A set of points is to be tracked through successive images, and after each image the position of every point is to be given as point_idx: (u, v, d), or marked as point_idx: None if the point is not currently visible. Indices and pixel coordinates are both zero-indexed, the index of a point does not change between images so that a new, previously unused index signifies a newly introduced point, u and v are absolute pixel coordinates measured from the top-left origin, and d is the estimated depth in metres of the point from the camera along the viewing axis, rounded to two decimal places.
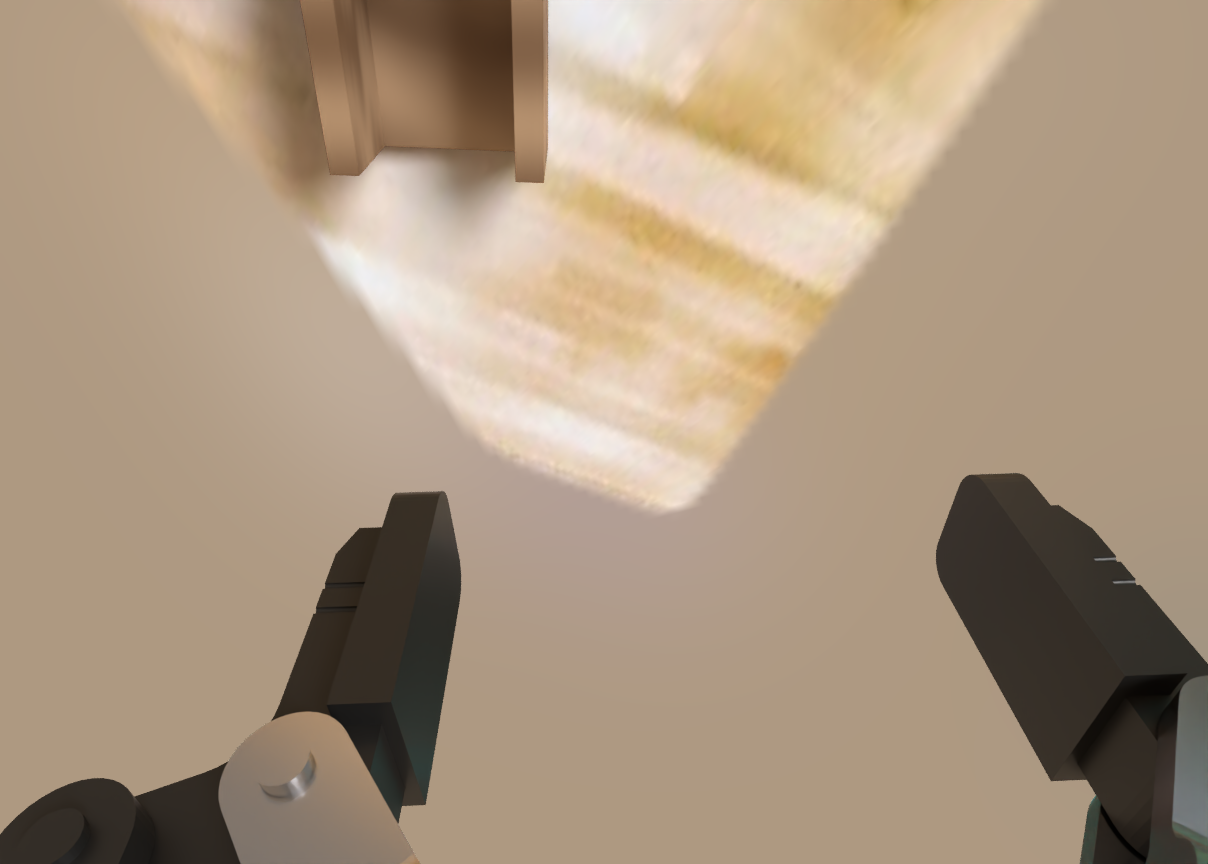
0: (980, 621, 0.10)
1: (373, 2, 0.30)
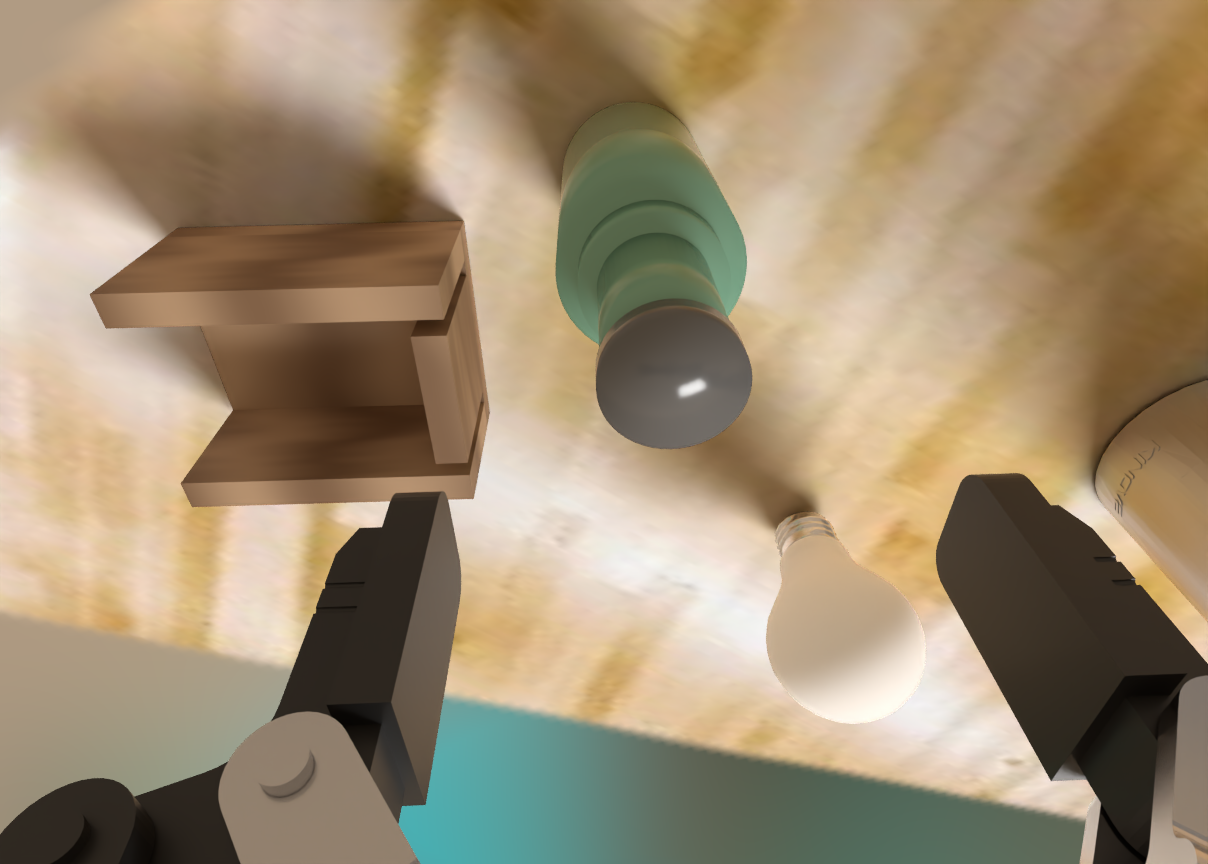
0: (980, 621, 0.10)
1: None
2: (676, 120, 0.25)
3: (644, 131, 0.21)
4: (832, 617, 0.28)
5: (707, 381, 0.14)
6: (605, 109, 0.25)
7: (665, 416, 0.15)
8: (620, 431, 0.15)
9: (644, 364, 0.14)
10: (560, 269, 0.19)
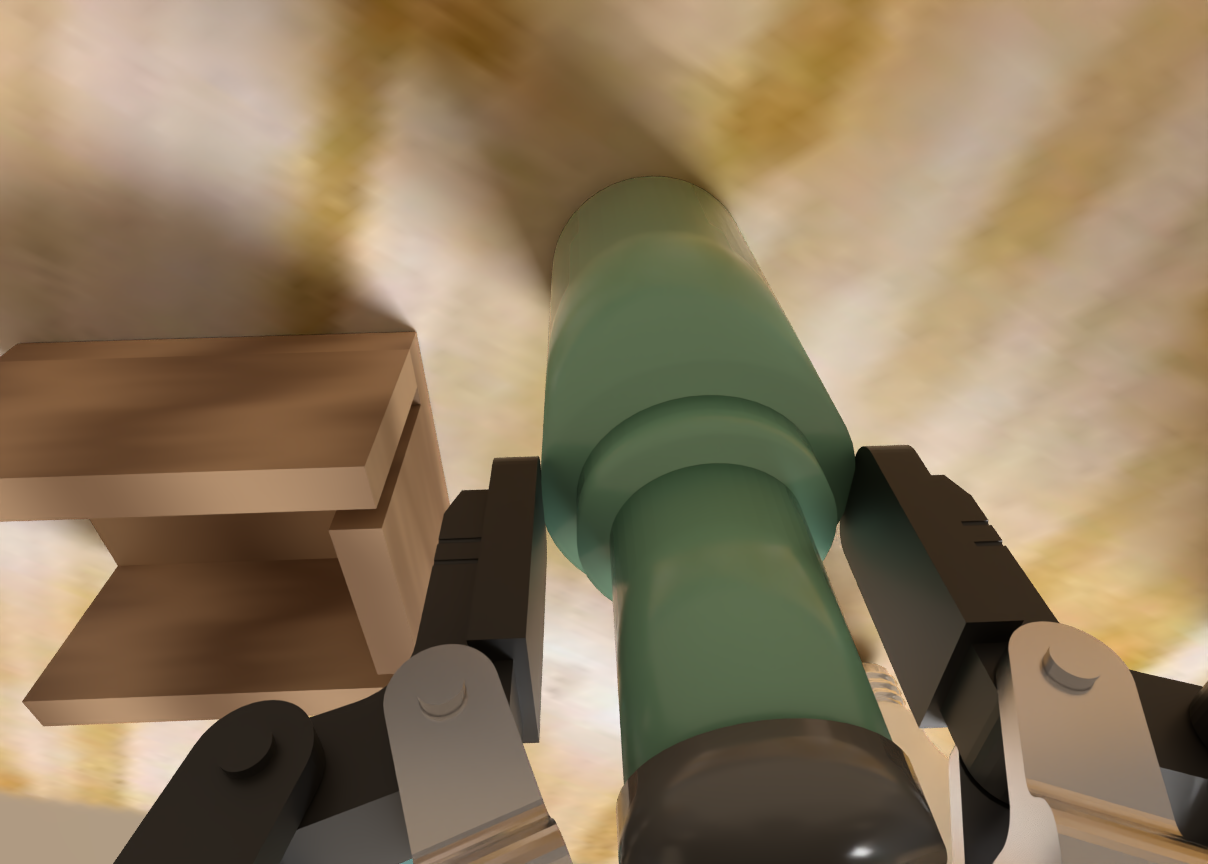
0: (870, 584, 0.11)
1: None
2: (715, 203, 0.17)
3: (677, 241, 0.14)
4: None
5: None
6: (613, 187, 0.17)
7: None
8: None
9: (723, 860, 0.07)
10: (547, 493, 0.11)
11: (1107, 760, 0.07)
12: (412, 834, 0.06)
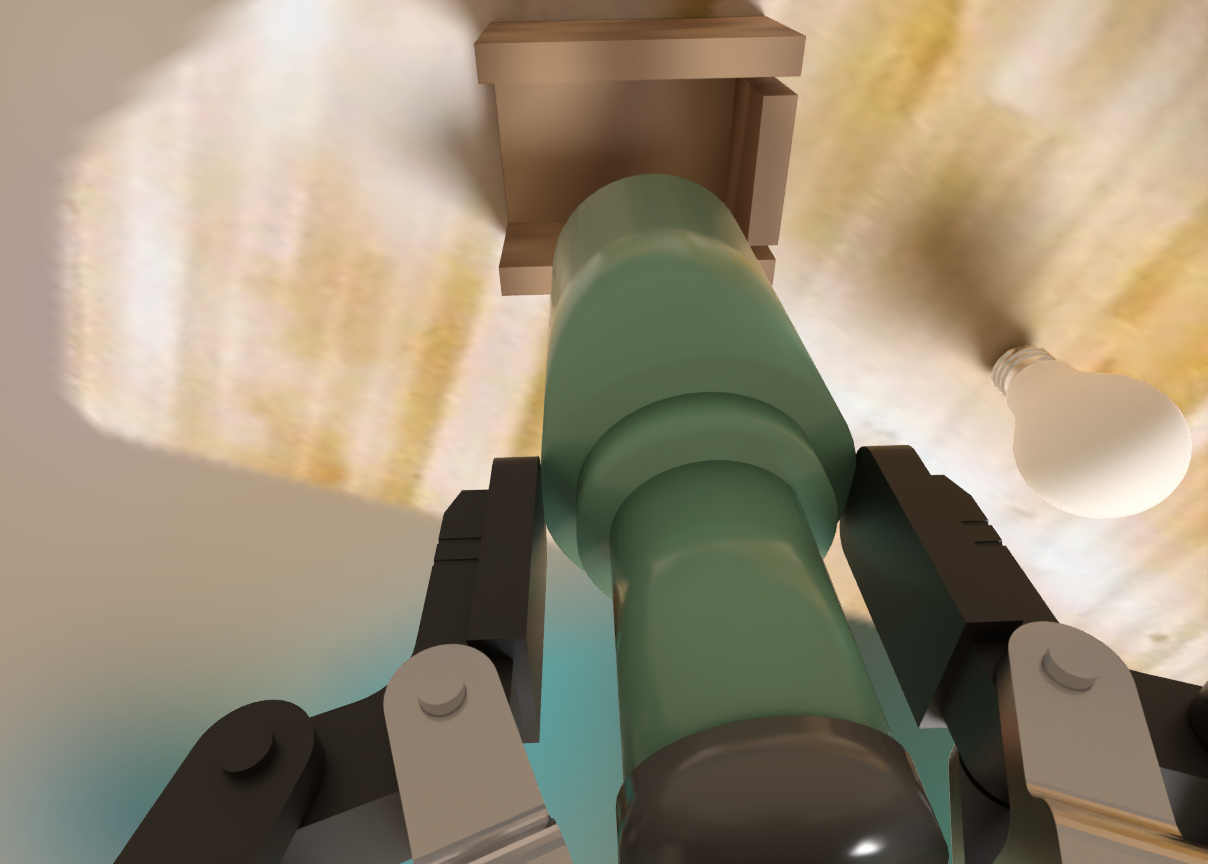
0: (870, 584, 0.11)
1: None
2: (715, 201, 0.17)
3: (677, 238, 0.14)
4: (1108, 406, 0.30)
5: None
6: (613, 184, 0.17)
7: None
8: None
9: (724, 858, 0.07)
10: (547, 490, 0.11)
11: (1107, 760, 0.07)
12: (412, 834, 0.06)
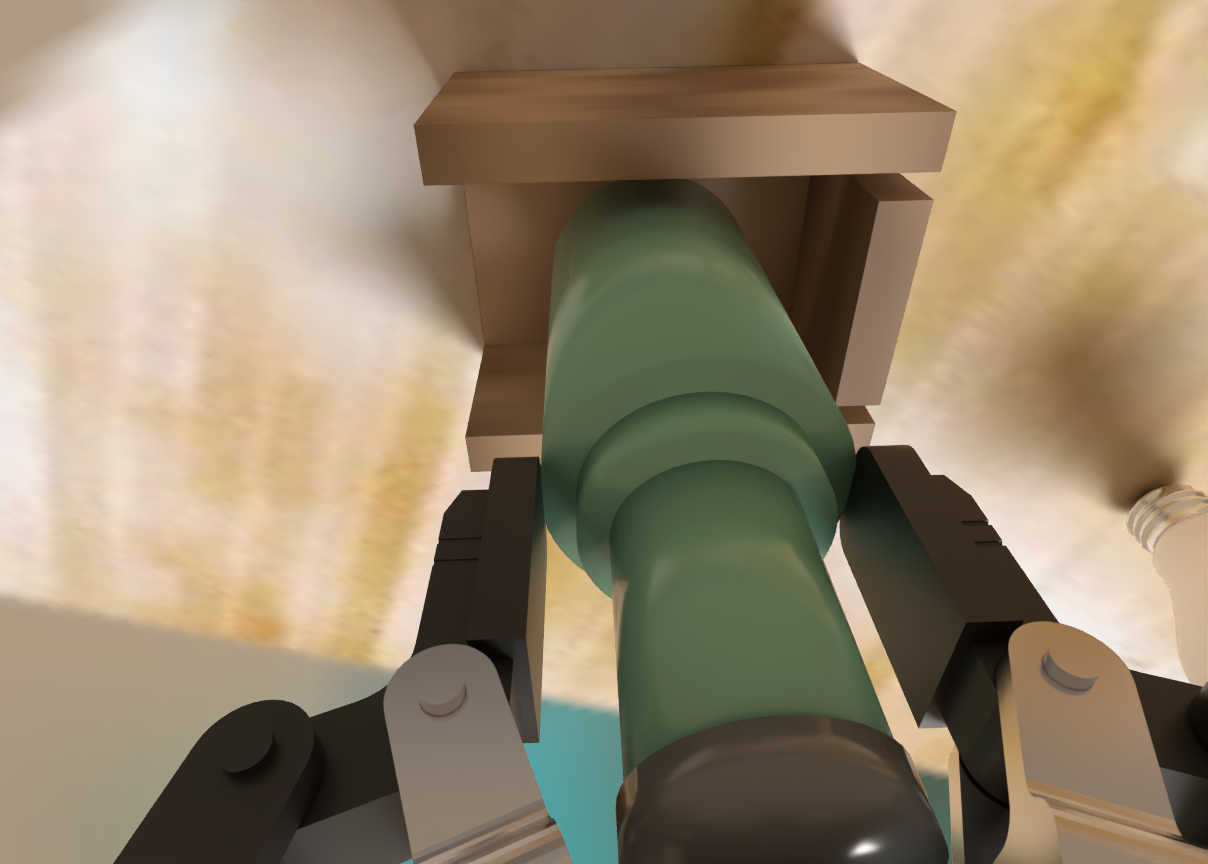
0: (870, 584, 0.11)
1: None
2: (715, 201, 0.17)
3: (677, 238, 0.14)
4: None
5: None
6: (613, 184, 0.17)
7: None
8: None
9: (723, 858, 0.07)
10: (547, 490, 0.11)
11: (1107, 760, 0.07)
12: (412, 834, 0.06)
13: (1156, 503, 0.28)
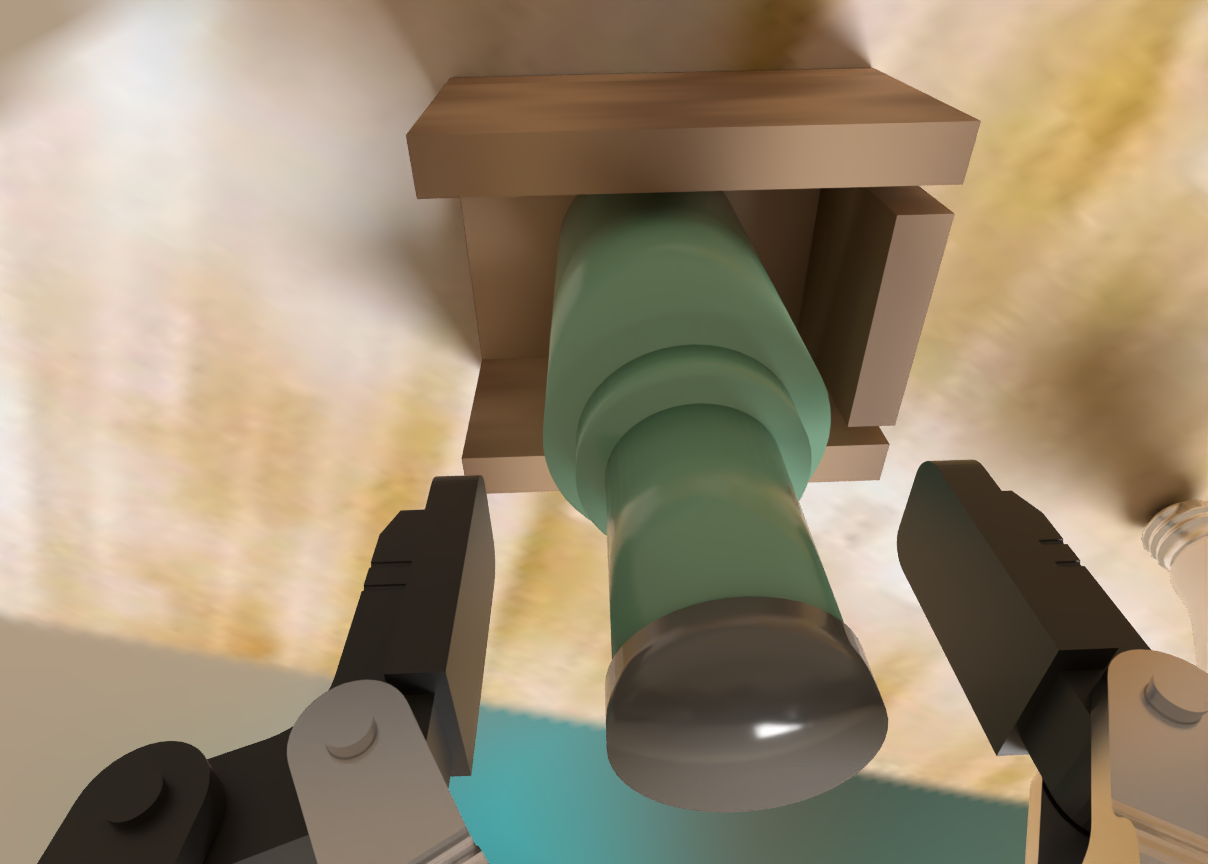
0: (935, 603, 0.11)
1: None
2: None
3: (672, 214, 0.15)
4: None
5: (805, 737, 0.08)
6: None
7: (728, 777, 0.08)
8: (647, 795, 0.09)
9: (695, 717, 0.08)
10: (550, 437, 0.13)
11: (1205, 795, 0.06)
12: None
13: (1173, 519, 0.27)
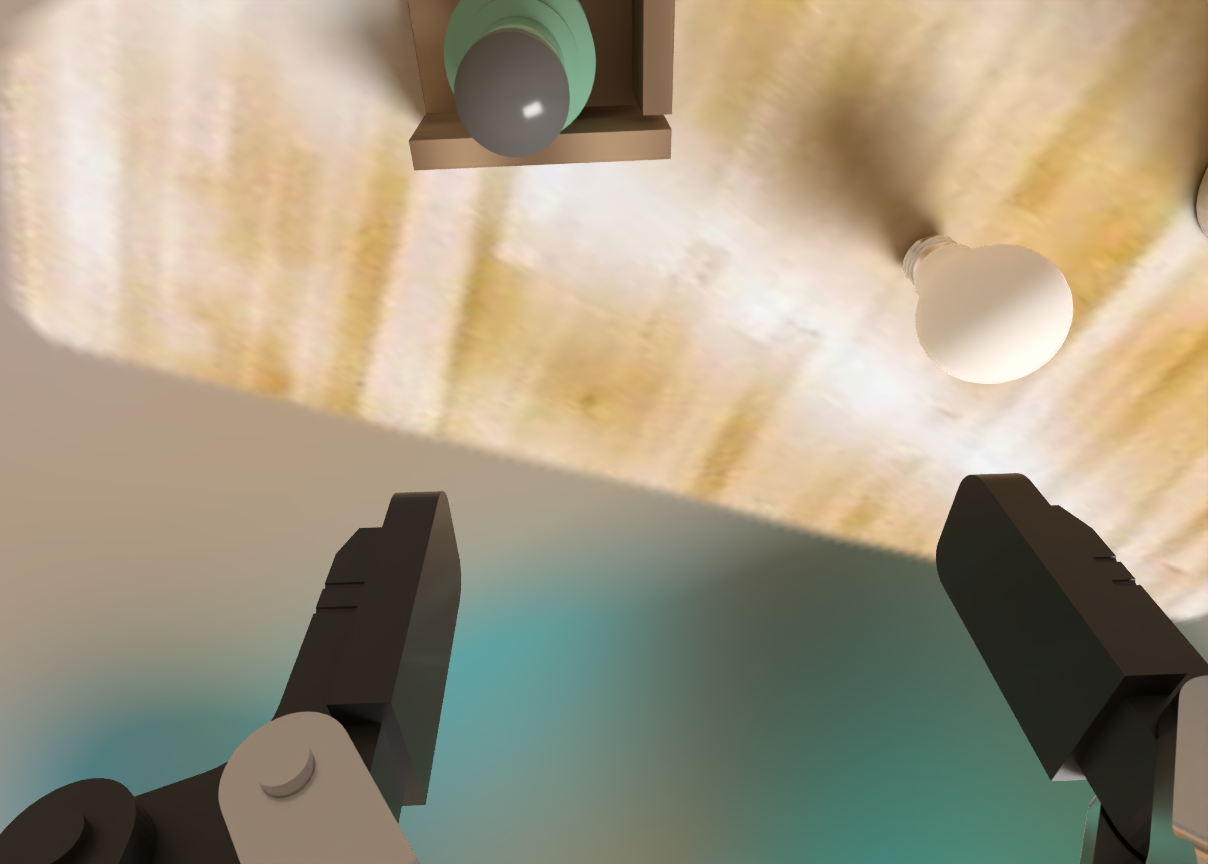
0: (980, 621, 0.10)
1: None
2: None
3: None
4: (992, 268, 0.31)
5: (535, 92, 0.19)
6: None
7: (509, 126, 0.20)
8: (477, 140, 0.20)
9: (487, 76, 0.19)
10: (448, 60, 0.24)
11: None
12: None
13: (918, 247, 0.38)
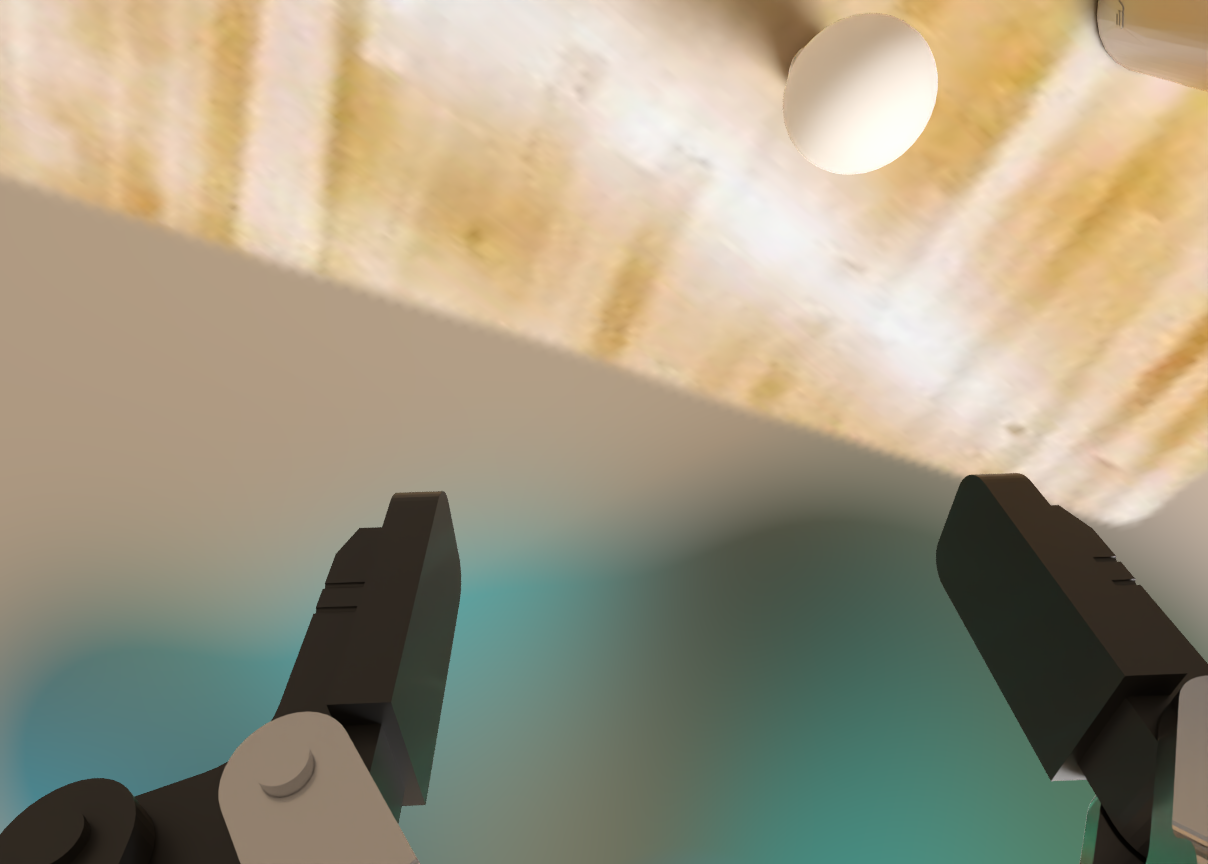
0: (980, 621, 0.10)
1: None
2: None
3: None
4: (848, 28, 0.30)
5: None
6: None
7: None
8: None
9: None
10: None
11: None
12: None
13: None
